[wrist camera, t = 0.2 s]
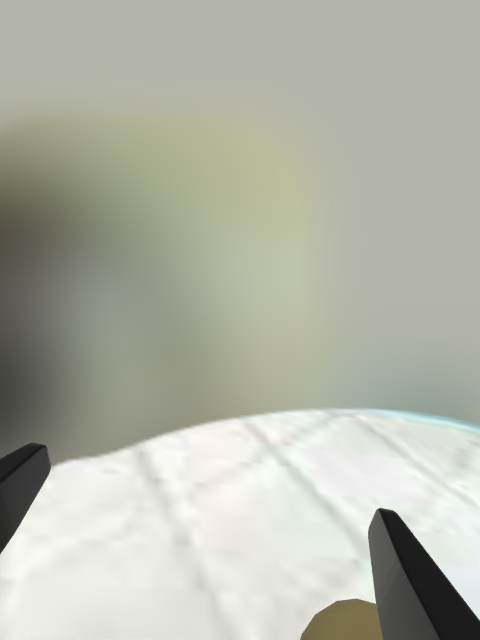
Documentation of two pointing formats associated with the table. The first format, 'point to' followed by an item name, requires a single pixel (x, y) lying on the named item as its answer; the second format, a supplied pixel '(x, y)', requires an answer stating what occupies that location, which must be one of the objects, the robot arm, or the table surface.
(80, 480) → the table surface
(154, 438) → the table surface
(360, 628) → the cork
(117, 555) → the table surface
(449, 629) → the robot arm
